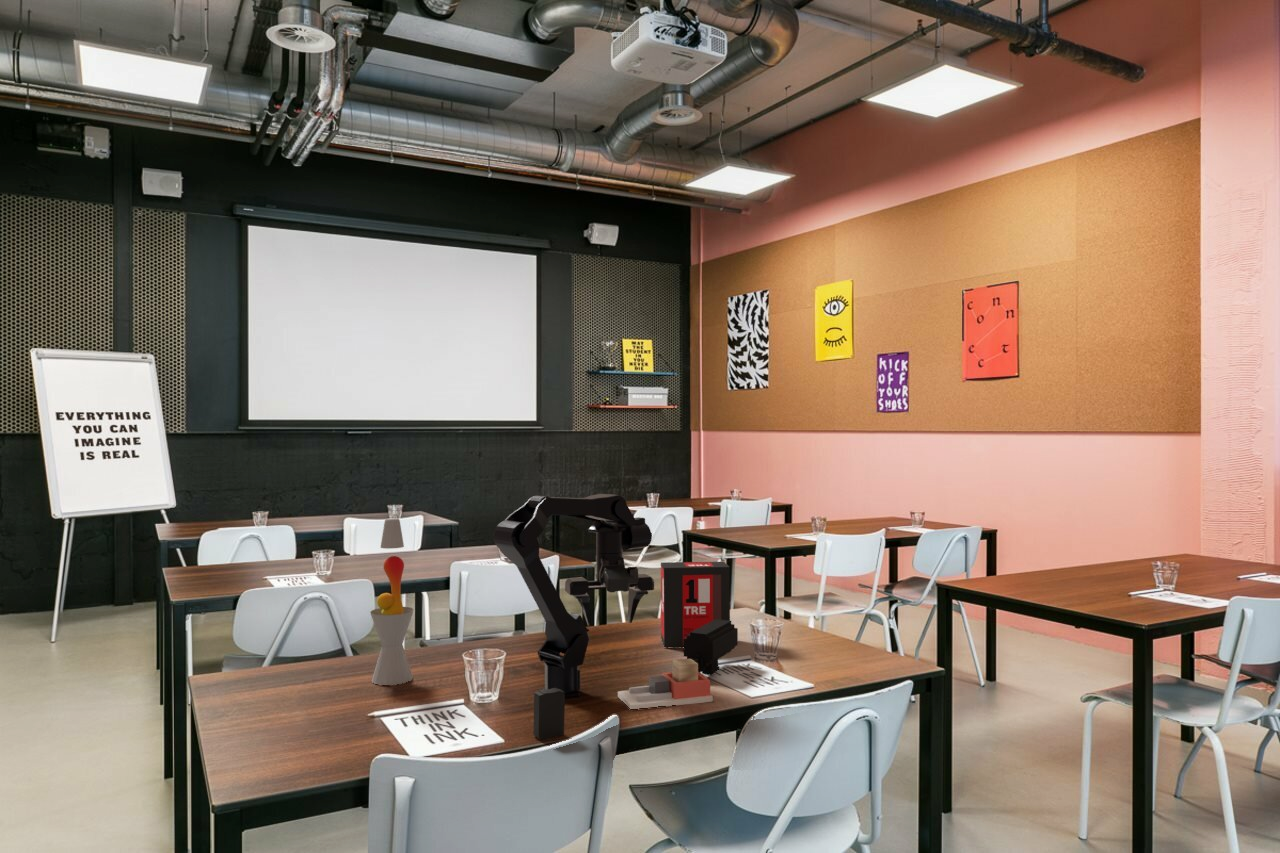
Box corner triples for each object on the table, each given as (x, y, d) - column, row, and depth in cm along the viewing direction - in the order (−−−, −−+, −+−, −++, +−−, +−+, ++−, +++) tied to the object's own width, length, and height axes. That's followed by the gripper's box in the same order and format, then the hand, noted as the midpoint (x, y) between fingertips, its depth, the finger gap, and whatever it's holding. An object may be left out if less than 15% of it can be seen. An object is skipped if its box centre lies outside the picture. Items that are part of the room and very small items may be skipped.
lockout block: (679, 695, 164) (679, 665, 164) (672, 689, 168) (672, 660, 168) (698, 693, 165) (697, 663, 165) (690, 687, 169) (690, 658, 169)
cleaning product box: (664, 648, 205) (663, 567, 205) (661, 639, 214) (660, 562, 214) (730, 647, 206) (729, 566, 206) (724, 638, 215) (723, 561, 215)
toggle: (655, 697, 162) (655, 682, 162) (649, 691, 166) (648, 676, 166) (669, 696, 163) (669, 681, 163) (663, 690, 167) (662, 675, 167)
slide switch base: (630, 710, 158) (630, 689, 158) (617, 696, 167) (617, 676, 167) (712, 701, 163) (712, 681, 163) (696, 688, 172) (696, 669, 172)
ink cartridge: (558, 731, 147) (559, 686, 147) (564, 735, 145) (565, 690, 145) (533, 736, 144) (533, 690, 145) (538, 740, 142) (539, 694, 143)
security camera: (677, 681, 177) (677, 634, 177) (711, 660, 193) (711, 617, 193) (707, 685, 174) (707, 638, 174) (739, 664, 190) (738, 620, 190)
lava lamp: (404, 671, 185) (404, 515, 186) (420, 680, 178) (419, 518, 179) (364, 678, 180) (364, 518, 180) (378, 688, 173) (378, 521, 173)
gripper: (575, 559, 168) (576, 636, 168) (662, 555, 174) (662, 629, 173) (564, 552, 179) (564, 624, 178) (646, 548, 184) (646, 618, 184)
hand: (609, 624), depth 178 cm, fingers open, 9 cm apart
